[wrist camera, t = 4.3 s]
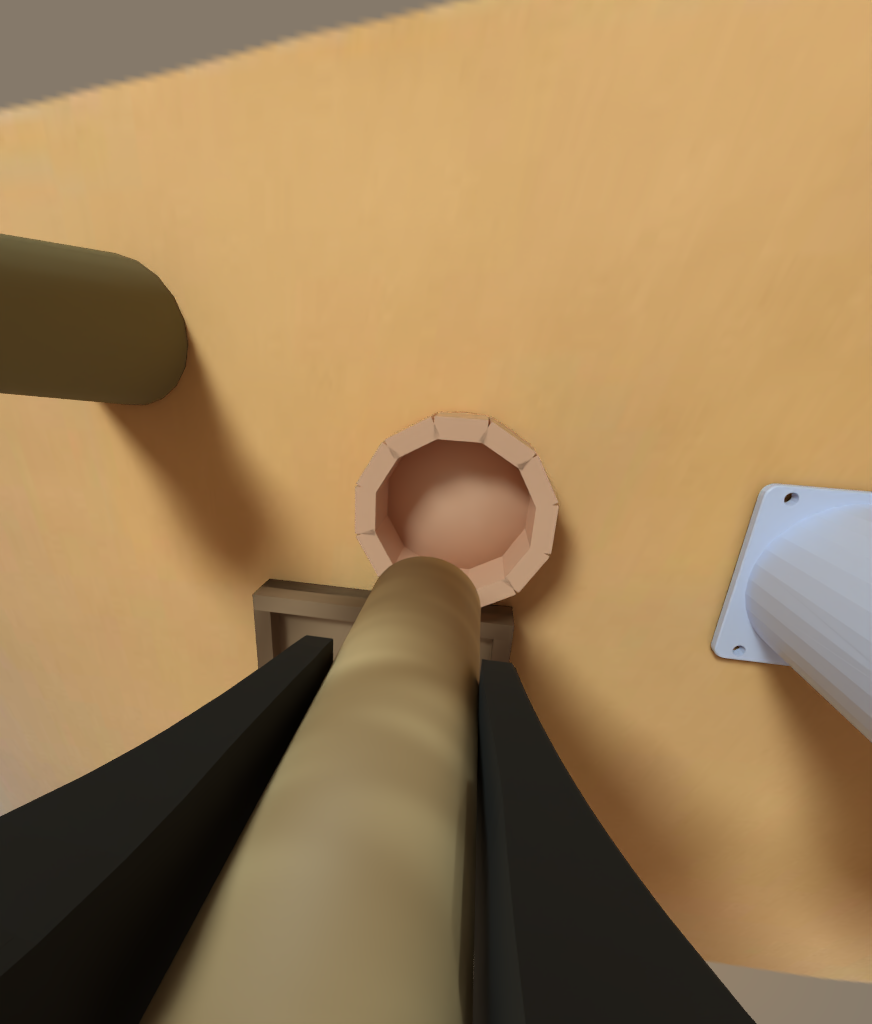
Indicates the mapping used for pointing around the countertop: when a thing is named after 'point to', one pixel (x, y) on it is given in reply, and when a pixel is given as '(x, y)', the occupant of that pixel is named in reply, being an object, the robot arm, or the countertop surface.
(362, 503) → the pink round piece
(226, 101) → the countertop surface
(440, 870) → the dowel pin
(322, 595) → the walnut tray
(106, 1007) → the robot arm
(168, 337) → the olive green pawn
